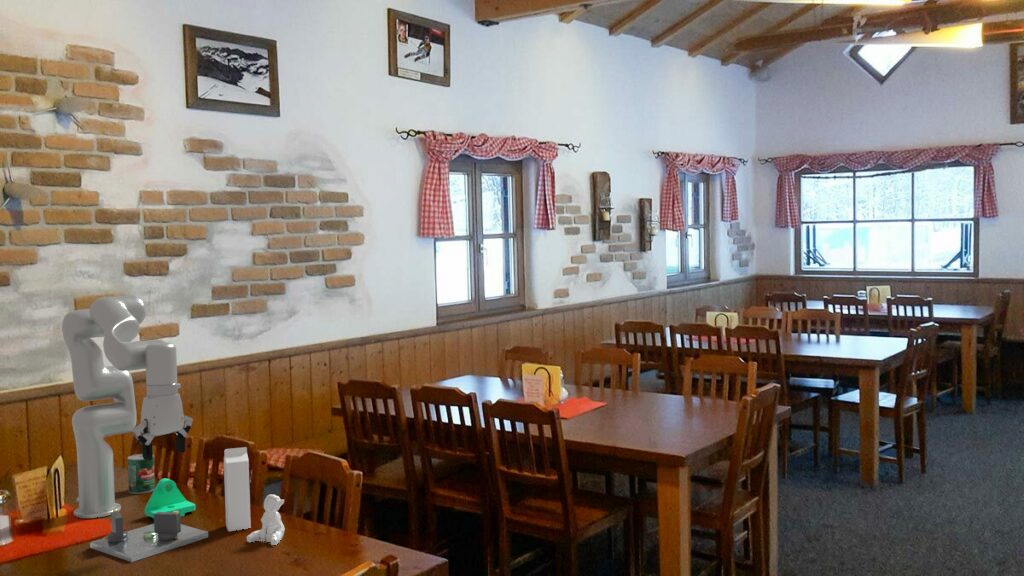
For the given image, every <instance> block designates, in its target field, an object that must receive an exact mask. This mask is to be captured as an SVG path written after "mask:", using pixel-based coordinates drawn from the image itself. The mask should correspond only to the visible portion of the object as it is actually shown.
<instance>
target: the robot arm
mask: <svg viewBox="0 0 1024 576" xmlns="http://www.w3.org/2000/svg"><path fill="white" fill-rule="evenodd" d="M146 314H147V310H146V306H145V304H144V302H143V300H142V299H141V298H139V297H138V296H135V295H115V296H110V295H109V296H103V297H99V298H97V299H95V300H94V301H93V302H92V303H91V304H90V306H89V308H83V309H76V310H72V311H69V312H68V313H67V314H65V315H64V317H63V319H62V322H61V324H62V325H61V333H62V336H63V340H64V342H65V345H66V347H67V349H68V352H69V355H70V359H71V360H70V361H71V371H72V380H73V381H72V382H73V388H74V393H75V397H76V398H77V399H78V400H80V401H82V402H91V401H92V402H93V401H100V400H107V399H113V400H114V402H110V403H107V402H106V403H100V404H93V405H88V406H84V407H81V408H78V409H77V410H76V411H75V412H74V413H73V415H72V418H71V426H72V431H73V435H74V439H75V447H76V458H77V459H76V460H77V478H78V479H77V481H78V484H77V485H78V497H77V498H76V502H77V503H78V504H79V505H78V506H79V507H78V508H76V509H74V510H73V516H74V517H75V516H76V518H78V517H79V518H80V519H96V518H97V517H98V518H103V517H107V516H111V513H112V512H113V510H117V511H118V512H119V513H120V511H121V509H122V506H121V504H120V503H117V502H116V500H115V499H116V493H115V474H114V473H115V469H114V468H115V467H114V452H113V449H112V447H111V446H110V445H109V443H108V442H107V441H105V439H104V438H105V437H109V436H114V435H116V436H117V435H121V434H122V435H123V434H127V433H131V432H132V435H133V436H134V438H135V440H136V441H137V442H138V443H139V445H141V451H142V452H141V454H142V456H143V459H145V460H152V459H153V455H154V453H153V445H152V444H151V443H152V441H153V439H154V438H155V437H158V436H163V435H167V434H168V435H169V434H173V433H175V434H176V436H175V437H174V438H175V440H174V441H175V442H174V443H175V452H178V453H186V437H187V436H188V433H189V431H190V430H191V428H192V424H193V421H194V418H192V417H190V416H187V415H185V414H184V408H183V401H182V399H181V395H180V393H179V390H178V389H181V387H182V385H181V383H178V361H177V360H178V359H177V347H176V345H175V344H174V343H172V342H167V341H164V340H162V339H148V340H135V339H136V337H137V336H138V334H139V332H140V325H141V324H142V323H143V322H144V320H145V318H146ZM92 338H93V339H94V338H103V341H102V347H103V350H102V349H101V347H100V345H99V344H97V342H95V341H94V340H93V339H92ZM133 340H135V341H133ZM103 352H104V354H103ZM104 355H105V358H106V359H107V360H108V362H109V363H110V364H111V365H108V366H106V365H105V364H104V363H105V362H104ZM137 370H138V371H139V370H145V378H146V379H145V381H146V385H145V386H146V396H144V397H143V400H142V403H141V404H142V405H141V414H140V423H139V424H138V425H137V420H138V419H137V416H138V415H137V407H136V406H137V405H136V398H135V389H134V388H135V387H134V380H133V377H132V373H131V371H137ZM79 518H78V519H79ZM98 518H97V519H98Z"/></svg>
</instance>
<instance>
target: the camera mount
mask: <svg viewBox="0 0 1024 576" xmlns="http://www.w3.org/2000/svg"><path fill="white" fill-rule="evenodd" d="M157 482H158V483H157V484H156V485H155V490H154V491H152V494H151V496H150V498H149V500H148V501H147V504H146V505H145V508H144V515H145V516H148V517H150V518H152V519H154V514H155V513H157V512H174V511H179V513H180V518H182V517H185V514H186V513H189V512H193V511H196V504H195V503H193V502H190V501H189V500H187V499H186V498H185V496H184V494H182V493H181V491H180V489H179V488H178V487H177V483H176V482H175V481H174V480H172V479H169V478H165V477H164V478H162V479H160V480H159V481H157ZM181 516H182V517H181Z"/></svg>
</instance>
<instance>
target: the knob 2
mask: <svg viewBox="0 0 1024 576" xmlns="http://www.w3.org/2000/svg"><path fill="white" fill-rule="evenodd" d="M153 524H154V532H155V533H158V540H160V541H169V540H173V539H176V538H177V537H178V533H179V532H181V517H180V513H179V511H174V512H157V513H155V514H154V518H153Z"/></svg>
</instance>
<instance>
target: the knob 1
mask: <svg viewBox="0 0 1024 576" xmlns="http://www.w3.org/2000/svg"><path fill="white" fill-rule="evenodd" d="M110 517H111V519H110V520H111V521H110V522H111V524H110V525H111V532H109V533H108V534H107V536H108V542H111V543H116V542H122V541H125V540H127V539H128V532H127V531H126V530H124V517H123V516H122V514H121V513H120V511H119V512H118V511H117V510H113V512H112V513H111V515H110Z"/></svg>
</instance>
